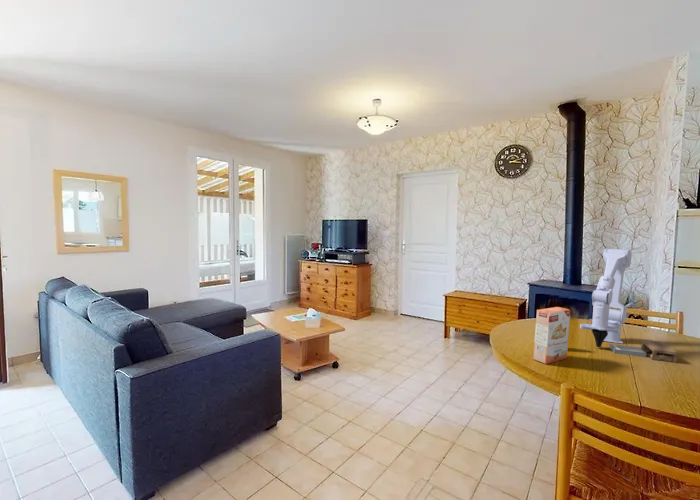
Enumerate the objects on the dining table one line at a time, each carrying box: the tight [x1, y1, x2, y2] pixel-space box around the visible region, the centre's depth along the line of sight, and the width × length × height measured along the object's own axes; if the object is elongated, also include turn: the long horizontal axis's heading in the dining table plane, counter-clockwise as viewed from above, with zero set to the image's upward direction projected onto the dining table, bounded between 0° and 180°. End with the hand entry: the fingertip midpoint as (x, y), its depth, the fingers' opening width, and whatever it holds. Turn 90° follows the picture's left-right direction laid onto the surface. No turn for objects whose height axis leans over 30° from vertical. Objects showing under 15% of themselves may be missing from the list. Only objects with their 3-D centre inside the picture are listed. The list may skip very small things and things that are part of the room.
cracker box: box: [532, 306, 571, 365], centre depth 140 cm, size 14×6×21 cm, turn 117°
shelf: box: [640, 340, 678, 364], centre depth 145 cm, size 8×12×4 cm, turn 157°
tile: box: [608, 343, 647, 358], centre depth 150 cm, size 11×7×2 cm, turn 69°
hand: (598, 346), depth 154 cm, fingers closed
